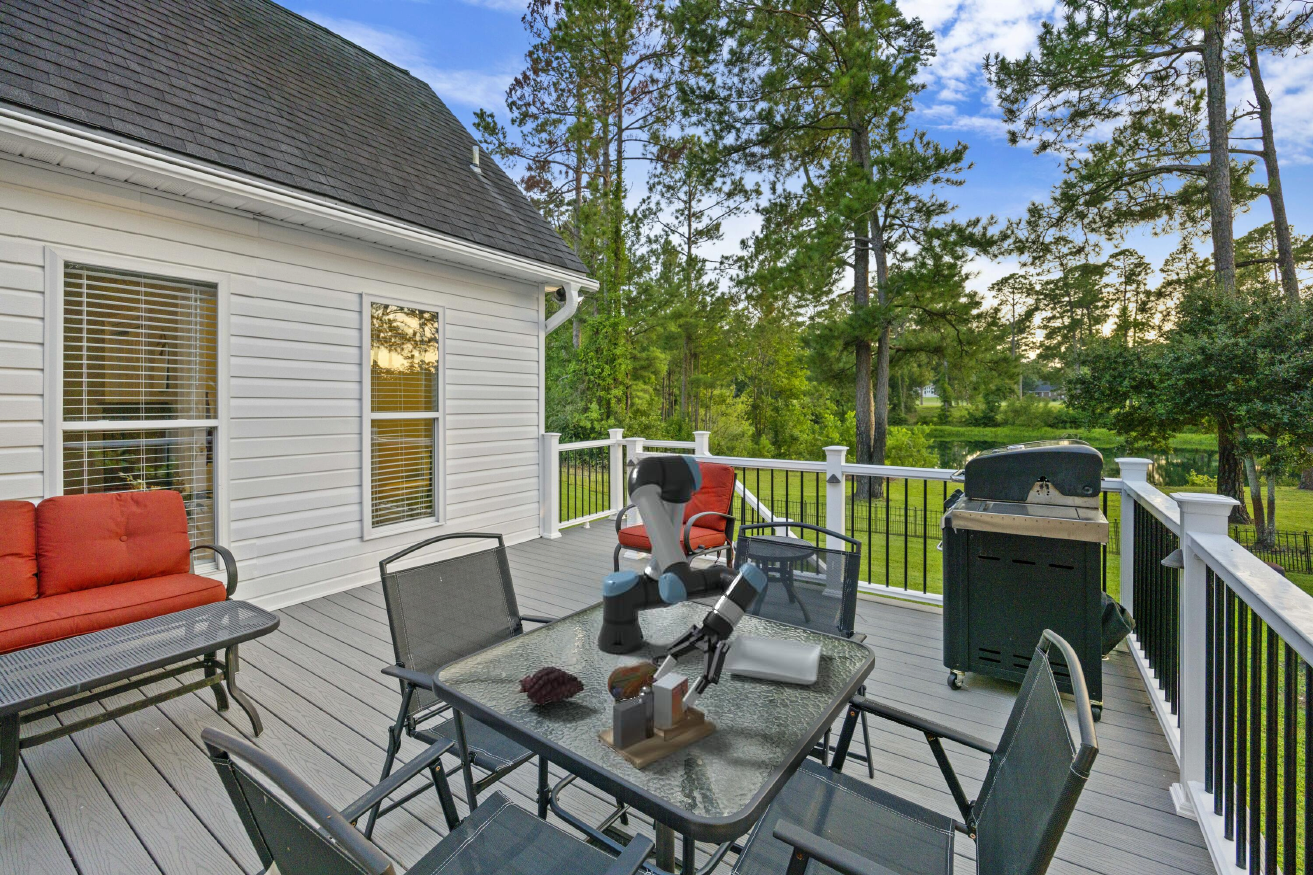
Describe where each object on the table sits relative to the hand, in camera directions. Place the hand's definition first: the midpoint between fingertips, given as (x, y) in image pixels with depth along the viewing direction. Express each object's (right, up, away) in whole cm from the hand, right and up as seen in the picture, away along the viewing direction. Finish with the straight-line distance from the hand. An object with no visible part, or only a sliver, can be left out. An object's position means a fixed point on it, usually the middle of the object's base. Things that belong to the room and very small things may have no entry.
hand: (671, 691), depth 144 cm
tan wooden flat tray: (-3, -10, -2) cm, 10 cm away
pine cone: (-31, -9, +13) cm, 35 cm away
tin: (-10, -9, +18) cm, 23 cm away
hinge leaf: (-9, -8, -6) cm, 14 cm away
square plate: (+32, -8, +37) cm, 50 cm away
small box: (0, -8, +1) cm, 8 cm away
